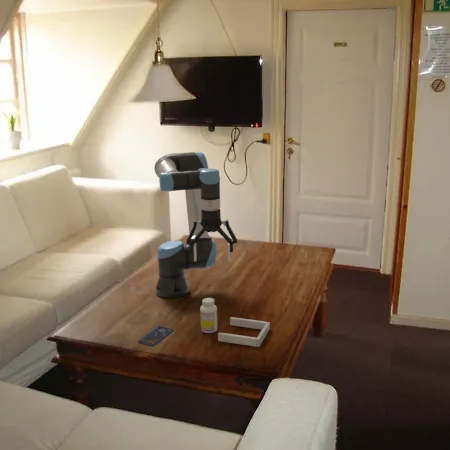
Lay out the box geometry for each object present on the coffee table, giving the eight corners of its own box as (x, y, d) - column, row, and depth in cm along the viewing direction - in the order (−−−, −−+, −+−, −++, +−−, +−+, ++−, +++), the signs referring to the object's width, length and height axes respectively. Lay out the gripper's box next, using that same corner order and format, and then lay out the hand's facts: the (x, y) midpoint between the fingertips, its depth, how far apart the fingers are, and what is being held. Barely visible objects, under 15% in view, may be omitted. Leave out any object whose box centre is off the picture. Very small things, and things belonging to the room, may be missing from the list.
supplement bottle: (208, 324, 234) (207, 295, 231) (221, 329, 230) (220, 299, 227) (197, 330, 229) (196, 300, 226) (210, 335, 225) (209, 305, 222)
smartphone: (136, 341, 221) (158, 325, 234) (136, 343, 221) (158, 327, 234) (153, 345, 218) (174, 329, 230) (153, 347, 218) (174, 330, 231)
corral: (218, 340, 221) (218, 333, 220) (231, 323, 235) (230, 317, 234) (259, 347, 216) (259, 339, 215) (269, 329, 229) (269, 322, 229)
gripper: (178, 211, 224) (180, 263, 230) (242, 210, 223) (243, 262, 229) (180, 206, 231) (182, 257, 237) (242, 205, 230) (243, 256, 236)
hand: (212, 260), depth 233 cm, fingers open, 13 cm apart
